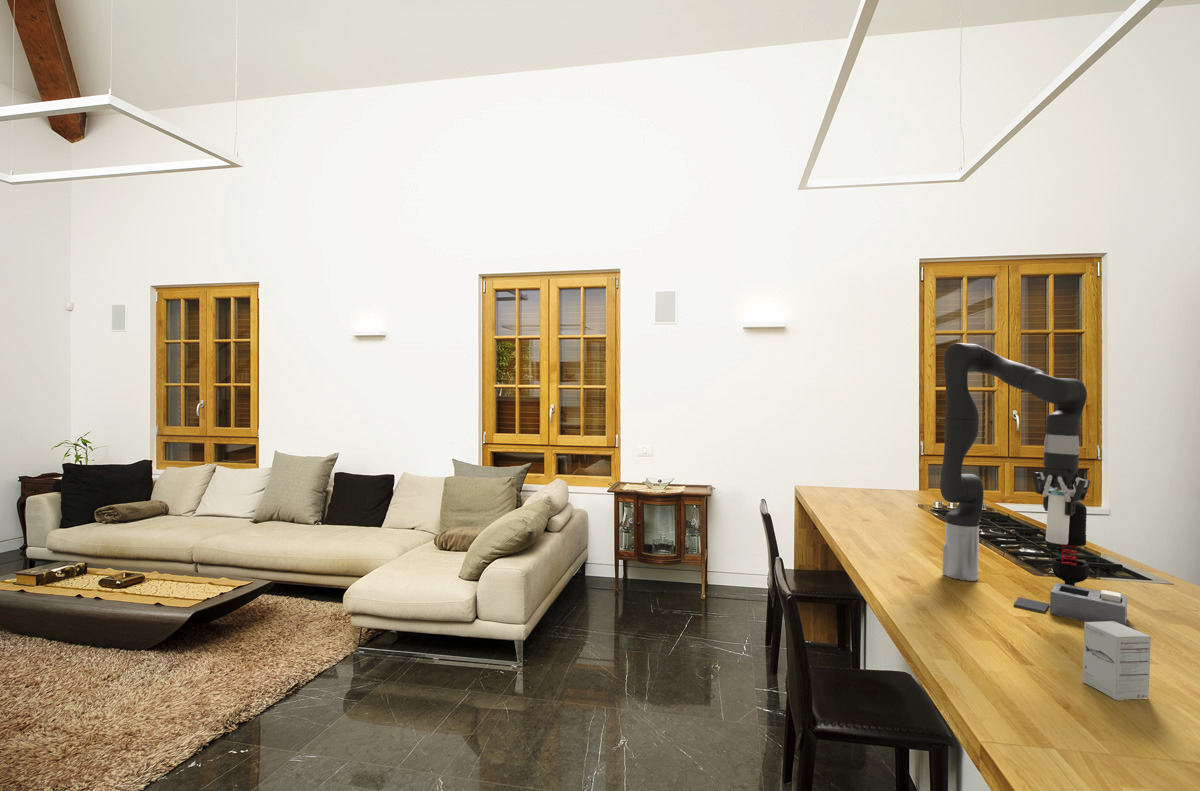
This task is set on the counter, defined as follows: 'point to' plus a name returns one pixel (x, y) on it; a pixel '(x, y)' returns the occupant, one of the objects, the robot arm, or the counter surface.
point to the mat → (1031, 605)
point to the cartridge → (1057, 519)
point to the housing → (1086, 605)
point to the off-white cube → (1111, 596)
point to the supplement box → (1116, 660)
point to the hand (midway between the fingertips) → (1058, 512)
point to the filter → (1073, 568)
